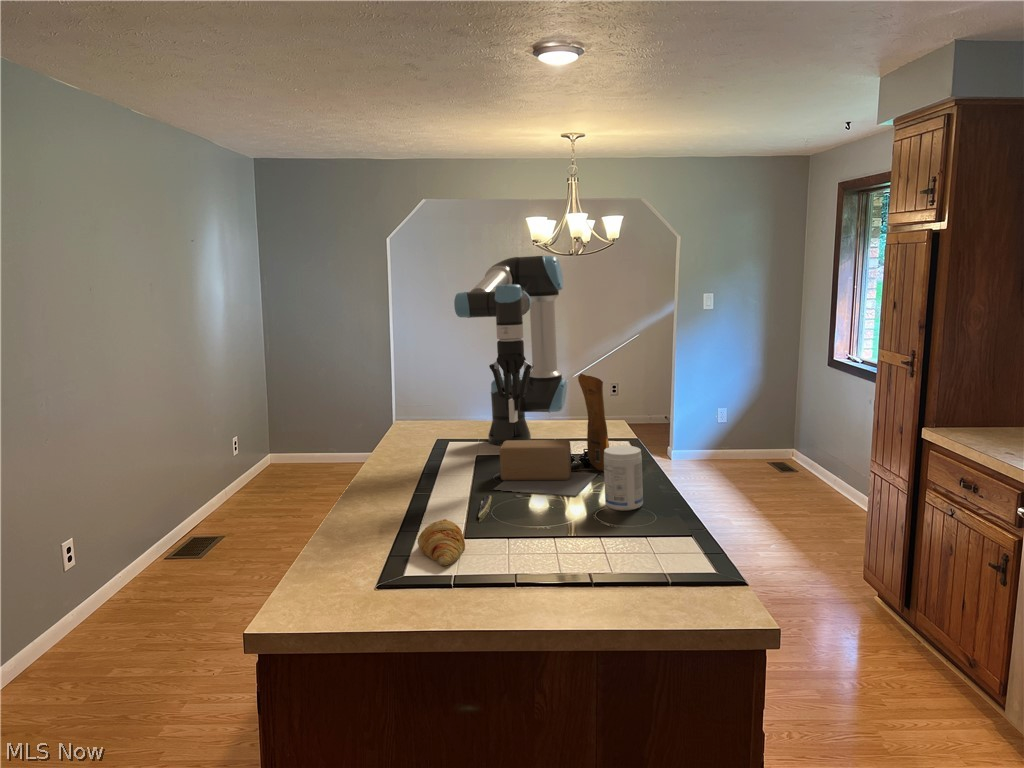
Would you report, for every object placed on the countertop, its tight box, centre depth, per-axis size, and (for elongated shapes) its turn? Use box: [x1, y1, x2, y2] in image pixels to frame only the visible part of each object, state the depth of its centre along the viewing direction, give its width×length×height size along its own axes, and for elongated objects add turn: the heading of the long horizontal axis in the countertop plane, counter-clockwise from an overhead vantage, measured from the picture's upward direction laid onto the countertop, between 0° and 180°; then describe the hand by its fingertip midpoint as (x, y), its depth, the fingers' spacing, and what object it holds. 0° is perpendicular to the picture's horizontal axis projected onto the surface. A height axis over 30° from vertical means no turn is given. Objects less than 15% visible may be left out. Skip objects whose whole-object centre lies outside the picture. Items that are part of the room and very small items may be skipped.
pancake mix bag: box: [577, 373, 610, 472], centre depth 230 cm, size 7×19×28 cm, turn 8°
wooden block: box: [499, 439, 572, 482], centre depth 219 cm, size 10×10×20 cm
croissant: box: [417, 519, 466, 566], centre depth 165 cm, size 21×10×8 cm, turn 12°
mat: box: [493, 471, 598, 498], centre depth 215 cm, size 22×24×1 cm
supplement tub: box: [603, 445, 644, 512], centre depth 190 cm, size 10×10×15 cm
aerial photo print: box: [478, 494, 532, 523], centre depth 192 cm, size 25×19×2 cm
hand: (513, 421), depth 215 cm, fingers closed
